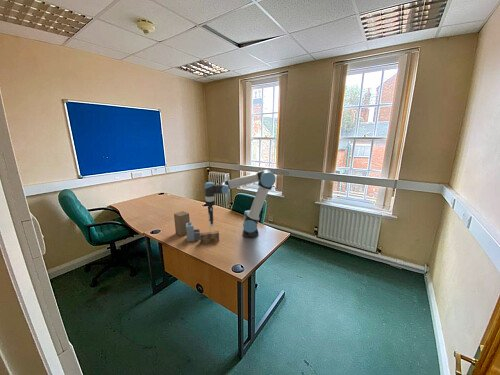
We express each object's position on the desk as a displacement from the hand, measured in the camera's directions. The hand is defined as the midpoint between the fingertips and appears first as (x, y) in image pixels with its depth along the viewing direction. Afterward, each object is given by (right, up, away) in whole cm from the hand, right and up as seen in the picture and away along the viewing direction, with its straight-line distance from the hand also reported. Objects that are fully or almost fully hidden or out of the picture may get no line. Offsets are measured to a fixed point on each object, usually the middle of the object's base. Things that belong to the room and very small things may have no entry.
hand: (211, 224), depth 179 cm
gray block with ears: (-17, -14, +8) cm, 24 cm away
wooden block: (-30, -12, +19) cm, 38 cm away
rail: (-2, -16, +3) cm, 16 cm away
